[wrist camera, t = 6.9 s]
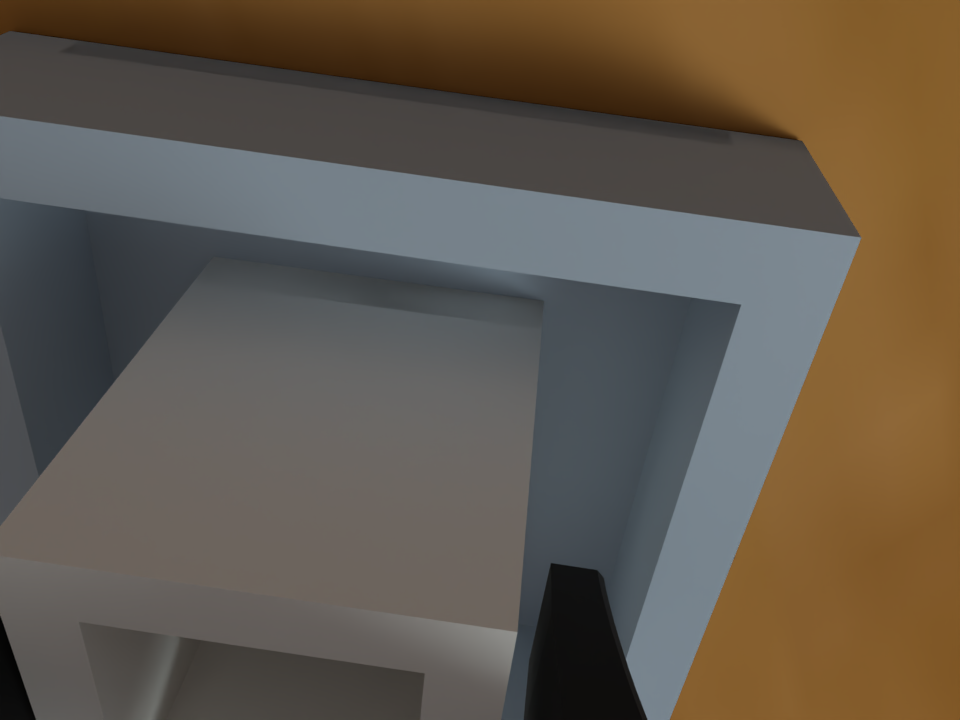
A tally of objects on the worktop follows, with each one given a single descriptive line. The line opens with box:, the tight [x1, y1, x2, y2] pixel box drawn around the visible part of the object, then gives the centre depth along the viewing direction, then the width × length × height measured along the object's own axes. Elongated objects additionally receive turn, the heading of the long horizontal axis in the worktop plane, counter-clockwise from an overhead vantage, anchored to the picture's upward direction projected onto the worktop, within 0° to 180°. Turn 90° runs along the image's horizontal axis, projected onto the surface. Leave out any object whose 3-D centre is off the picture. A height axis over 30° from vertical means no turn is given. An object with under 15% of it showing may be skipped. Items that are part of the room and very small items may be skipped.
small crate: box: [0, 257, 544, 720], centre depth 12 cm, size 5×5×6 cm
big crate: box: [0, 31, 861, 720], centre depth 14 cm, size 11×11×3 cm
